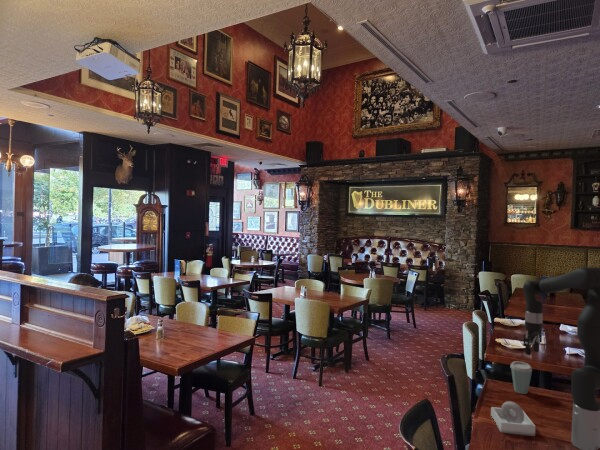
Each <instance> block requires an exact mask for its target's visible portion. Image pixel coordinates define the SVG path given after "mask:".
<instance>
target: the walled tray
mask: <svg viewBox="0 0 600 450" xmlns="http://www.w3.org/2000/svg"><path fill="white" fill-rule="evenodd" d="M490 407H491V408H490V417H491V416H492V417H491V419H492V418H493V419H494V421H495V422H496V424H495V425H497V426H496V427H497V428H498V430H499V432H500V433H503V434H511V435H522V436H531V437H535V436H536V425H535V424H534V422H533V421H532V419H530V417H529V416H528V415H527V413H526V412H525V411H524V410H523V413H524V421H523V422H522V423H521V424H519V423H510V422H508V421H507V420H506V419H505V418H504V417H503V415H502V411H501V408H502V407H495V406H490ZM509 412H510V414H511V415H512V416H513V417H515V416H516V414H515V412H514V411H513V410H512V409H510V410H509ZM493 419H492V420H493ZM494 421H493V422H494ZM495 422H494V423H495Z"/></svg>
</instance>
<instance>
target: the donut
mask: <svg viewBox="0 0 600 450" xmlns="http://www.w3.org/2000/svg"><path fill="white" fill-rule="evenodd" d="M500 408H501V411H502V415H503V417H504V418H505V419H506V420H507V421H508V422H510V423H519V424H521V423H522V422H523V421H524V413H523V411H524V409H522V407H521V406H520V405H518V404H517V402H514V401H511V400H509V401H505V402H503V403H502V405H501V407H500ZM510 409H512V410H513V411H514V412H515V414H516V416H515V417H513V416H512V415H511V414H510V412H509V410H510Z"/></svg>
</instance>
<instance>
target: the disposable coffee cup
mask: <svg viewBox="0 0 600 450" xmlns="http://www.w3.org/2000/svg"><path fill="white" fill-rule="evenodd" d="M509 368H510V369H511V371H510V372H511V376H512V383H513V384H512V385H513V390H514V391H515V393H518V394H520V395H521V394H523V395H527V394H528V392H529V387H530V385H531V384H530V383H531V379H532V378H531V377H532V372H533V367H532V366H531V365H530V364H529V363H527V362H525V361H519V360H517V361H512V362H511V363H510V367H509Z"/></svg>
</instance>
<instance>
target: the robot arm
mask: <svg viewBox="0 0 600 450" xmlns="http://www.w3.org/2000/svg"><path fill="white" fill-rule="evenodd" d="M568 289H579V290H580V289H583V290H588V297H587V301H586V303H585V305H584V307H583V308H582V310H581V312H580V313H579V315H578V318H577V322H576V323H577V325H576V326H577V327H576V328H577V329H576V334H577V338H578V340H579V342H580V345H581V347H582V349H583V352H584V365H583V367H578V368H576V369H574V370H572V373H571V378H570V381H571V383H570V389H571V390H570V391H571V392H570V393H571V398H572V399H573V401H572V415H571V416H572V418H571V420H572V421H571V422H572V423H571V437H570V438H571V439H570V442H572V443H571V445H573V446H574V447H575V448H577V449H579V450H598V449H599V448H600V401H599V399H597V398H596V391H597V390H600V266H596V267H595V266H589V267H587V266H585V267H583V266H582V267H579V268H576V269H574V270H571V271H568V272H567V273H564V274H562V275H561V274H560V275H555V276H551V277H545V278H543V279H541V280H527V281H525V282H524V284H523V286H522V291H523V294H524V299H525V315H524V330H526V331H527V333H524V334H523V341H522V342H523V343H522V346H524V347H525V355H527V356H531V355H532V347H533V351H534V352H536V353H538V352H539V351H540V345H541V344H542V342H543V324H544V323H543V321H544V318H543V317H544V316H543V312H544V311H543V310H544V305H543V301H541V300H539V299H536V298H537V297H536V296H544V295H548V294H551V293H552V294H553V293H554V294H555V293H559V292H562V291H564V290H568ZM599 450H600V449H599Z"/></svg>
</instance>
